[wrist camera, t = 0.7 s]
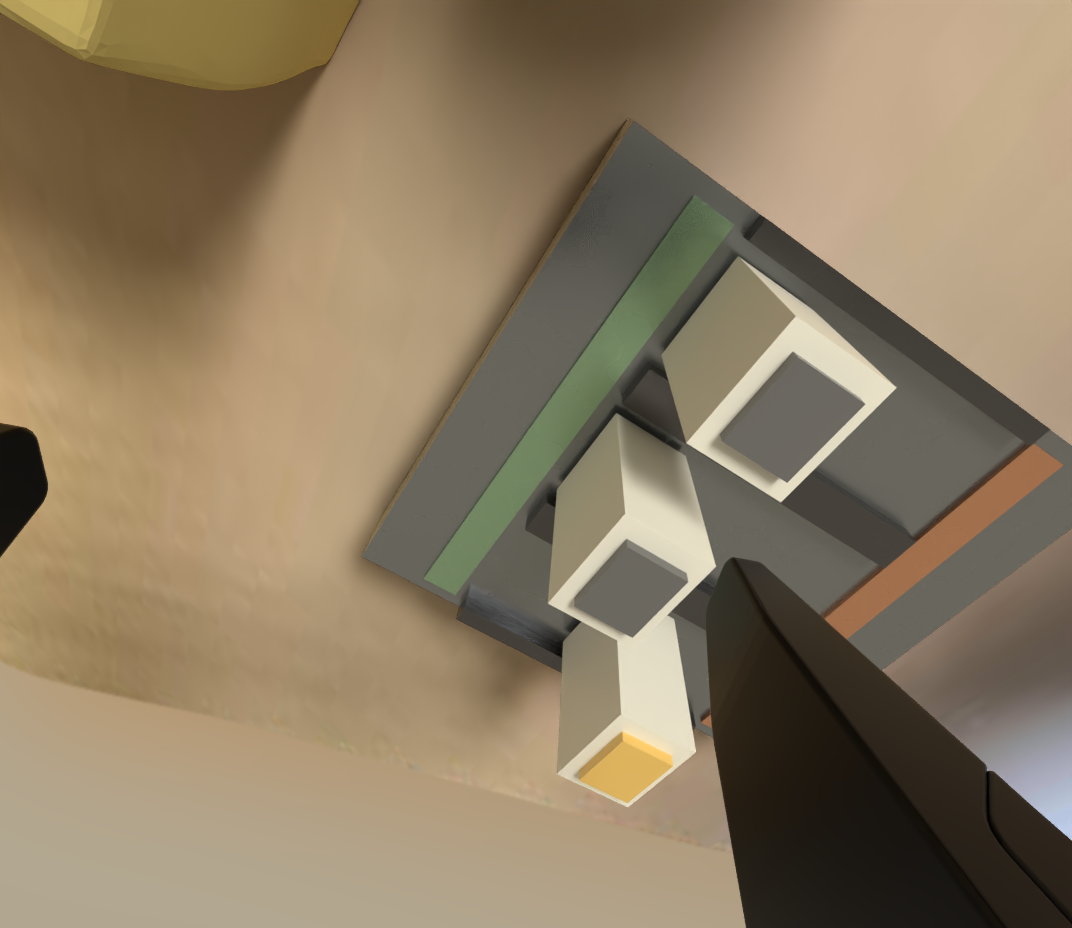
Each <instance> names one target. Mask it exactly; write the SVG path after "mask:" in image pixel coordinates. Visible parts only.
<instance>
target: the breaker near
mask: <svg viewBox="0 0 1072 928" xmlns="http://www.w3.org/2000/svg"><path fill="white" fill-rule="evenodd" d="M661 356H662V360H663V363H664V367H665V370H666V374H667V377H668V381H669V384H670V388H671V391H672V395H673V398H674V402H675V405H676V409H677V412H678V416H679V419H680V423H681V426H682V430H683V433H684V437H685V440H686V443H687V444H689V445H690V446H692V447H693V448H695V449H697V450H698V451H700V452H701V453H703V454H705V455H706V456H708V457H709V458H711V459H712V460H714V461H716V462H717V463H719V464H720V465H722V466H724V467H725V468H727V469H728V470H730V471H732V472H733V473H735V474H736V475H738V476H740V477H741V478H743V479H744V480H746V481H748V482H749V483H751V484H752V485H754V486H755V487H757V488H759V489H760V490H762V491H763V492H765V493H767V494H768V495H770V496H771V497H773V498H775V499H776V500H778V501H779V502H782V501H783V500H784V499H785V498H786V497H787V496H788V495H789V494H790V493H791V492H792V491H793V490H794V489H795V488H796V487H797V486H798V485H799V484H800V483H801V482H802V481H803V480H804V479H805V478H806V477H807V476H808V475H809V474H810V473H811V472H812V471H813V470H814V469H815V468H816V467H817V466H818V465H819V464H820V463H821V462H822V461H823V460H824V459H825V458H826V457H827V456H828V455H829V454H830V453H831V452H832V451H833V450H834V449H835V448H836V447H837V446H838V445H839V444H840V443H841V442H842V441H843V440H844V439H845V438H846V437H847V436H848V435H849V434H850V433H852V432H853V431H854V430H855V429H856V428H857V427H858V426H859V425H860V424H861V423H862V422H863V421H864V420H865V419H866V418H867V417H868V416H869V415H870V414H871V413H872V412H873V411H874V410H875V409H876V408H877V407H878V406H879V405H880V404H881V403H882V402H883V401H884V400H885V399H886V398H887V397H888V396H889V395H890V394H891V393H892V392H893V391H894V390H895V389H896V388H897V387H895V386H894V385H893V384H892V383H891V382H890V381H889V380H888V379H887V378H886V377H885V376H884V375H883V374H881V373H880V372H879V371H878V370H877V369H876V368H875V367H874V366H873V365H872V364H871V363H870V362H869V361H867V360H866V359H865V358H864V357H863V356H862V355H861V354H860V353H859V352H858V351H857V350H856V349H855V348H853V347H852V346H851V345H850V344H849V343H848V342H847V341H846V340H845V339H844V338H843V337H842V336H841V335H839V334H838V333H837V332H836V331H835V330H834V329H833V328H832V327H831V326H830V325H829V324H828V323H827V322H826V321H824V320H823V319H822V318H821V317H820V316H819V315H818V314H817V313H816V312H815V311H814V310H812V309H811V308H810V307H808V306H807V305H805V304H804V303H803V302H801V301H800V300H798V299H797V298H796V297H794V296H793V295H792V294H790V293H789V292H787V291H786V290H785V289H783V288H782V287H780V286H779V285H778V284H776V283H775V282H773V281H772V280H771V279H769V278H768V277H766V276H765V275H764V274H762V273H761V272H759V271H758V270H757V269H755V268H754V267H753V266H751V265H750V264H748V263H747V262H746V261H744V260H743V259H741V258H740V257H739V256H738V257H737V258H736V259H735V261H734V262H733V263H732V265H731V266H730V267H729V268H728V270H727V271H726V272H725V274H724V275H723V276H722V277H721V279H720V280H719V281H718V283H717V284H716V285H715V286H714V288H713V289H712V290H711V292H710V293H709V294H708V295H707V297H706V298H705V299H704V301H703V302H702V303H701V305H700V306H699V307H698V308H697V310H696V311H695V312H694V314H693V315H692V316H691V317H690V319H689V320H688V321H687V323H686V324H685V325H684V326H683V328H682V329H681V330H680V332H679V333H678V334H677V335H676V337H675V338H674V339H673V341H672V342H671V343H670V344H669V346H668V347H667V348H666V350H665V351H664V352H663V353H662V355H661Z"/></svg>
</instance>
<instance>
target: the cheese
mask: <svg viewBox="0 0 1072 928" xmlns="http://www.w3.org/2000/svg"><path fill="white" fill-rule="evenodd" d="M358 2H359V0H0V13H1V14H3V15H5V16H6V17H8V18H10V19H12V20H13V21H15V22H17V23H18V24H20V25H22V26H23V27H25V28H27V29H28V30H30V31H32V32H33V33H35V34H37V35H38V36H40V37H42V38H43V39H45V40H47V41H48V42H50V43H52V44H53V45H55V46H57V47H58V48H60V49H62V50H63V51H65V52H67V53H69V54H70V55H72V56H74V57H76V58H78V59H81V60H83V61H86V62H89V63H93V64H96V65H100V66H104V67H108V68H112V69H116V70H120V71H125V72H129V73H133V74H137V75H142V76H146V77H151V78H155V79H160V80H164V81H168V82H173V83H178V84H183V85H188V86H193V87H198V88H205V89H214V90H231V91H238V90H244V89H251V88H258V87H264V86H268V85H272V84H275V83H278V82H281V81H284V80H286V79H289V78H291V77H293V76H296V75H298V74H300V73H302V72H304V71H306V70H308V69H311V68H313V67H317V66H321V65H324V64H326V63H327V62H328V61H329V60H330V58H331V56H332V55H333V53H334V51H335V49H336V47H337V45H338V43H339V40H340V38H341V36H342V34H343V32H344V30H345V28H346V26H347V24H348V22H349V20H350V18H351V16H352V14H353V12H354V10H355V8H356V6H357V4H358Z"/></svg>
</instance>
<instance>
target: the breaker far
mask: <svg viewBox="0 0 1072 928" xmlns="http://www.w3.org/2000/svg"><path fill="white" fill-rule="evenodd" d="M694 753H696V749H695V743H694V737H693V730H692V724H691V718H690V712H689V706H688V700H687V694H686V688H685V682H684V676H683V670H682V664H681V658H680V652H679V646H678V639H677V633H676V627H675V621H674V619H673V618H671V617H670V616H668V615H667V616H666V617H665V618H664V619H663V620H662V621H661V622H660V623H659V624H658V625H657V626H656V627H655V628H654V629H653V630H652V631H651V632H650V633H649V634H648V635H647V636H645V637H644V638H643V639H642V640H641V641H640V642H639V643H638V644H637V645H636V646H635V647H634V648H633V649H632V648H630V647H628V646H627V645H625V644H623V643H621V642H619V641H617V640H615V639H613V638H612V637H610V636H608V635H606V634H604V633H602V632H600V631H598V630H597V629H595V628H593V627H591V626H589V625H587V624H585V623H583V622H581V623H580V624H579V625H578V626H577V627H576V628H575V629H574V630H573V631H572V632H571V634H570V635H569V636H568V637H567V638H566V639H565V640H564V641H563V654H562V675H561V696H560V717H559V738H558V760H557V774H558V775H560V776H562V777H564V778H567V779H569V780H571V781H573V782H575V783H577V784H579V785H581V786H584V787H586V788H588V789H590V790H592V791H594V792H596V793H599V794H601V795H603V796H605V797H607V798H609V799H611V800H613V801H616V802H618V803H620V804H622V805H624V806H626V807H629V806H630V805H631V804H633V803H634V802H635V801H636V800H638V799H639V798H640V797H641V796H643V795H644V794H645V793H646V792H647V791H649V790H650V789H651V788H652V787H654V786H655V785H656V784H657V783H659V782H660V781H661V780H662V779H664V778H665V777H666V776H667V775H668V774H670V773H671V772H672V771H673V770H675V769H676V768H677V767H678V766H680V765H681V764H682V763H683V762H684V761H686V760H687V759H688V758H689V757H691V756H692V755H693V754H694Z"/></svg>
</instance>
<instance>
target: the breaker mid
mask: <svg viewBox="0 0 1072 928" xmlns="http://www.w3.org/2000/svg"><path fill="white" fill-rule="evenodd" d="M715 567H716V565H715V561H714V557H713V554H712V550H711V546H710V543H709V539H708V535H707V532H706V528H705V525H704V521H703V517H702V514H701V510H700V506H699V503H698V499H697V495H696V492H695V488H694V484H693V481H692V477H691V473H690V470H689V466H688V462H687V459H686V456H685V455H683V454H682V453H680V452H678V451H677V450H675V449H674V448H672V447H670V446H669V445H667V444H666V443H664V442H662V441H661V440H659V439H658V438H656V437H654V436H653V435H651V434H650V433H648V432H646V431H645V430H643V429H641V428H640V427H638V426H637V425H635V424H633V423H632V422H630V421H629V420H627V419H625V418H624V417H622V416H621V415H619V414H617V413H616V414H615V415H614V417H613V418H612V419H611V420H610V422H609V423H608V424H607V426H606V427H605V428H604V430H603V431H602V432H601V433H600V435H599V436H598V437H597V439H596V440H595V441H594V442H593V444H592V445H591V446H590V448H589V449H588V450H587V451H586V453H585V454H584V455H583V457H582V458H581V459H580V460H579V462H578V463H577V464H576V466H575V467H574V468H573V469H572V471H571V472H570V473H569V475H568V476H567V477H566V478H565V480H564V481H563V482H562V484H561V485H560V486H559V487H558V489H557V496H556V508H555V520H554V533H553V545H552V557H551V569H550V582H549V594H548V604H550V605H552V606H553V607H555V608H557V609H559V610H561V611H563V612H565V613H567V614H568V615H570V616H572V617H574V618H576V619H578V620H580V621H582V622H583V623H585V624H587V625H589V626H591V627H593V628H595V629H597V630H598V631H600V632H602V633H604V634H606V635H608V636H610V637H612V638H613V639H615V640H617V641H619V642H621V643H623V644H625V645H627V646H628V647H630V648H632V649H633V648H634V647H635V646H636V645H637V644H638V643H639V642H640V641H641V640H642V639H643V638H644V637H645V636H647V635H648V634H649V633H650V632H651V631H652V630H653V629H654V628H655V627H656V626H657V625H658V624H659V623H660V622H661V621H662V620H663V619H664V618H665V617H666V616H667V615H668V614H669V613H670V612H671V611H672V610H673V609H674V608H675V607H676V606H677V605H678V604H679V603H680V602H681V601H682V600H683V599H684V598H685V597H686V596H687V595H688V594H689V593H690V592H691V591H692V590H693V589H694V588H695V587H696V586H697V585H698V584H699V583H700V582H701V581H702V580H703V579H704V578H705V577H706V576H707V575H708V574H709V573H710V572H711V571H712V570H713V569H714V568H715Z"/></svg>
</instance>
